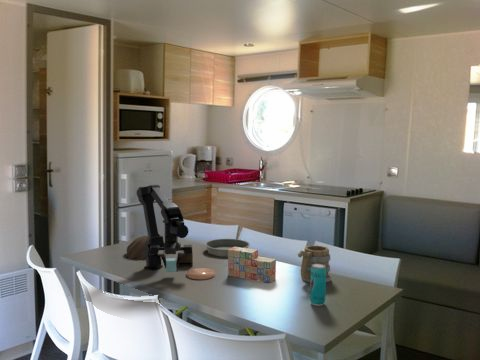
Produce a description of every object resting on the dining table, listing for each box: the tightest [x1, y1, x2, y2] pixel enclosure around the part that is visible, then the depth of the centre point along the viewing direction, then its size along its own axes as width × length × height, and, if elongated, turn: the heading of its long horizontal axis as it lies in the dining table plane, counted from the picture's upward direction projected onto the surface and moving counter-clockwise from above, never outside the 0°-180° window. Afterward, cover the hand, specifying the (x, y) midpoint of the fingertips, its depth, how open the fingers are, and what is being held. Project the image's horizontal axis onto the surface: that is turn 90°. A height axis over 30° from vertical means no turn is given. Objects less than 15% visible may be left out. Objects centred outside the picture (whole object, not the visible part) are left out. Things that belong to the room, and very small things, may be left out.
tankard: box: [297, 245, 332, 283], centre depth 206 cm, size 20×13×15 cm, turn 134°
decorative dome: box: [125, 235, 148, 260], centre depth 247 cm, size 19×20×10 cm
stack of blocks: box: [227, 247, 277, 284], centre depth 210 cm, size 21×6×12 cm, turn 60°
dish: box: [186, 267, 217, 281], centre depth 213 cm, size 13×13×1 cm
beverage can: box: [309, 264, 327, 307], centre depth 178 cm, size 6×6×15 cm
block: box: [165, 257, 178, 273], centre depth 209 cm, size 4×4×5 cm
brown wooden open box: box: [177, 247, 194, 268], centre depth 229 cm, size 7×7×7 cm
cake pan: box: [204, 238, 251, 258], centre depth 255 cm, size 25×25×4 cm
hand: (171, 268), depth 209 cm, fingers closed on block, 4 cm apart
